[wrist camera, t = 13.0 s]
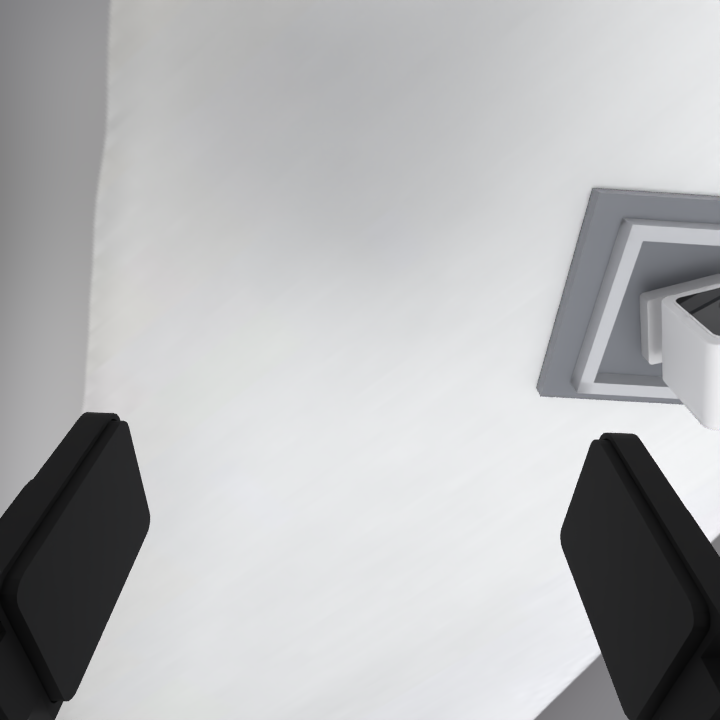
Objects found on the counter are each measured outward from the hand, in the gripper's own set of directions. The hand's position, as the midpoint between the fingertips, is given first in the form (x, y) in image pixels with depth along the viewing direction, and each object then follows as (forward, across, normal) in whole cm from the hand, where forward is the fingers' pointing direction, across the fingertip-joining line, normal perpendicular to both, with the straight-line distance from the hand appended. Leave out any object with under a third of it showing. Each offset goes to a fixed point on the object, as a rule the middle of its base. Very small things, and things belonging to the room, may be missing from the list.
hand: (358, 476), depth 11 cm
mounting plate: (+28, -23, +8) cm, 37 cm away
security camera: (+27, -23, +8) cm, 36 cm away
